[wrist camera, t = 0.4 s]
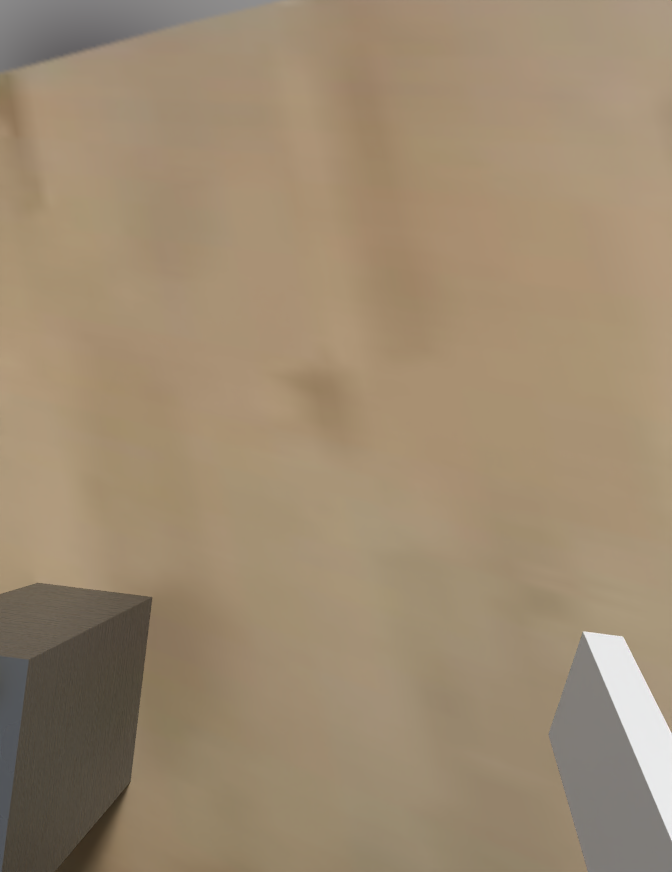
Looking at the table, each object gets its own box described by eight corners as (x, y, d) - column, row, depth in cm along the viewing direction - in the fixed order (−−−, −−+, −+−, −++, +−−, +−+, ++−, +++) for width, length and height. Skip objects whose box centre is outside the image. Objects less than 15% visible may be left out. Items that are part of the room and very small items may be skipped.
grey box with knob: (130, 781, 31) (-43, 986, 19) (14, 764, 32) (-230, 952, 19) (152, 597, 32) (-1, 675, 19) (38, 582, 32) (-185, 649, 20)
